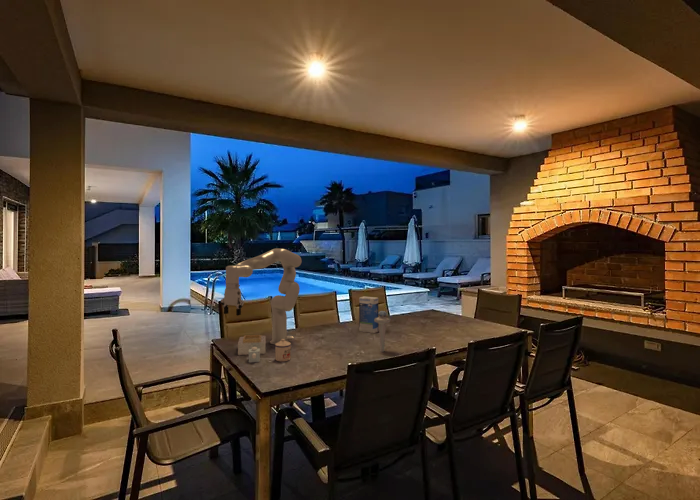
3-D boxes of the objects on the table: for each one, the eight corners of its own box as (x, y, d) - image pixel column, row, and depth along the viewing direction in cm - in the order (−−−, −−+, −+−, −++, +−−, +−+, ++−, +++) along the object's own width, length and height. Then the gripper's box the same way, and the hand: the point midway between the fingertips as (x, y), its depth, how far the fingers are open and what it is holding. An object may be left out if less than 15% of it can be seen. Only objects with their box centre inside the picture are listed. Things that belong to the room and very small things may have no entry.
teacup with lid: (284, 362, 214) (284, 342, 214) (271, 360, 218) (271, 340, 218) (296, 357, 225) (296, 337, 224) (284, 354, 229) (284, 335, 229)
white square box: (265, 346, 247) (265, 333, 246) (265, 353, 231) (265, 339, 231) (240, 347, 243) (239, 334, 243) (237, 355, 228) (237, 341, 227)
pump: (259, 358, 221) (259, 345, 221) (259, 363, 213) (259, 350, 213) (249, 359, 220) (249, 346, 220) (248, 363, 212) (248, 350, 212)
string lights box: (378, 331, 288) (379, 297, 288) (374, 333, 282) (374, 298, 281) (363, 329, 295) (363, 296, 295) (358, 331, 289) (358, 297, 288)
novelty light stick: (371, 349, 240) (371, 310, 239) (385, 348, 243) (386, 309, 242) (378, 354, 230) (378, 313, 230) (392, 352, 234) (393, 312, 233)
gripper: (247, 286, 229) (247, 314, 230) (225, 284, 237) (225, 312, 237) (239, 287, 222) (239, 316, 223) (216, 286, 230) (216, 314, 230)
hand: (232, 314), depth 230 cm, fingers open, 9 cm apart
